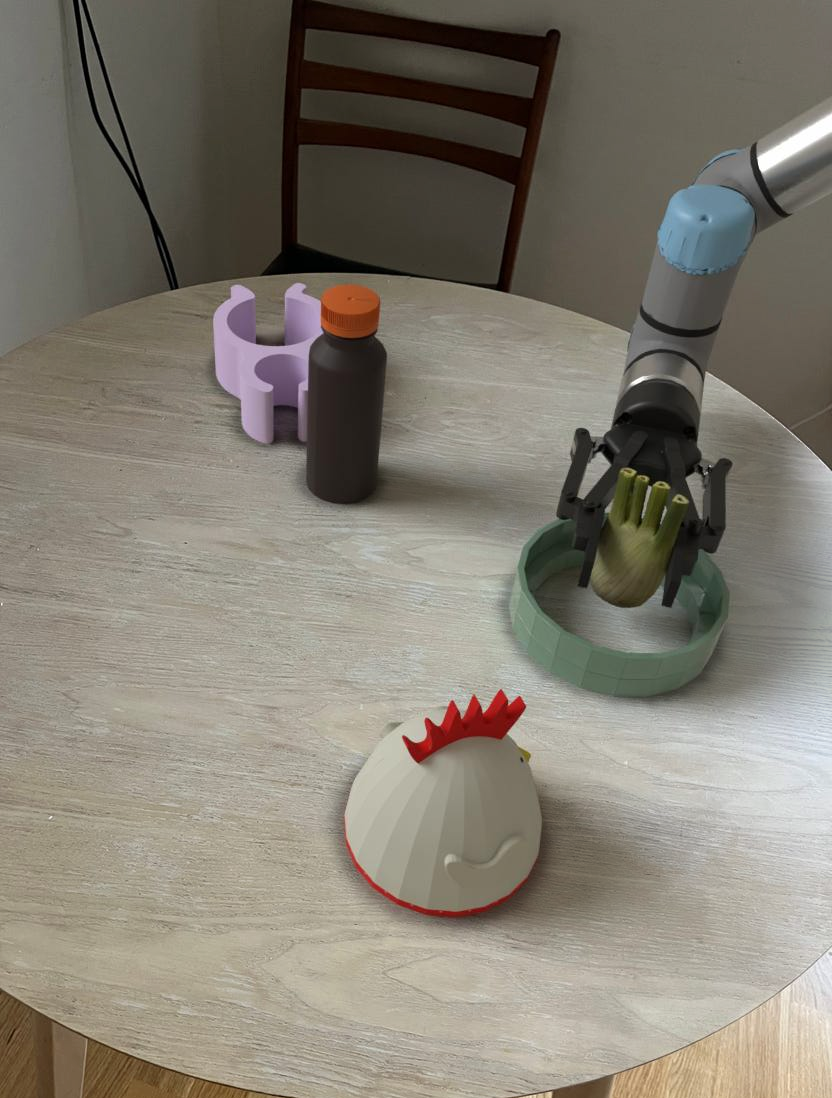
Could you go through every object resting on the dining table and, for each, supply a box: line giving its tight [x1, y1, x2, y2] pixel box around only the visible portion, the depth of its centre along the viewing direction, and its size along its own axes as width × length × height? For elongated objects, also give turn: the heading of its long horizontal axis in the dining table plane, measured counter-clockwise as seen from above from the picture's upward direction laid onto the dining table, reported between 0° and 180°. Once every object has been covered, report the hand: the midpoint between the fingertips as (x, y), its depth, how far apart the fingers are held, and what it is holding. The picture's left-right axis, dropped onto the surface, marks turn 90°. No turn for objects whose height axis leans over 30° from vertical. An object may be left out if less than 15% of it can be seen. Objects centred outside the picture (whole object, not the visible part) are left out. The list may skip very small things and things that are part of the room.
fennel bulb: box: [589, 468, 689, 609], centre depth 85 cm, size 6×5×12 cm
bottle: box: [305, 284, 388, 505], centre depth 96 cm, size 7×7×20 cm
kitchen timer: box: [343, 688, 543, 918], centre depth 72 cm, size 14×14×15 cm
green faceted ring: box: [508, 512, 731, 698], centre depth 90 cm, size 17×17×6 cm
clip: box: [212, 282, 323, 445], centre depth 111 cm, size 20×12×7 cm, turn 8°
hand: (628, 584), depth 82 cm, fingers closed on fennel bulb, 6 cm apart
